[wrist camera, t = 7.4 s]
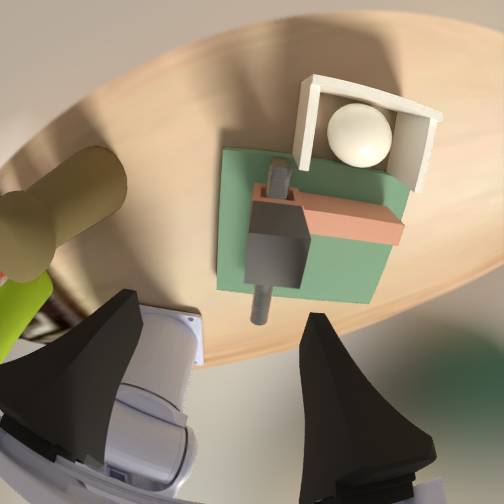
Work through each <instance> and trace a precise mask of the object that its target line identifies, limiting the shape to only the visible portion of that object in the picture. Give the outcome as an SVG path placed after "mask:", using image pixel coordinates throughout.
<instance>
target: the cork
mask: <svg viewBox="0 0 504 504" xmlns="http://www.w3.org/2000/svg"><path fill="white" fill-rule="evenodd" d="M126 192H127V178H126V174H125V171H124V168H123V166H122V164H121V163H120V161H119V160H118V158H117V157H116V156H115V155H114V154H113V153H112V152H110V151H109V150H108V149H105V148H102V147H99V146H92V147H87V148H85V149H83V150H81V151H80V152H78V153H77V154H75V155H74V156H72V157H71V158H69V159H68V160H66V161H65V162H63V163H62V164H61V165H59V166H58V167H56V168H55V169H54V170H52V171H51V172H50V173H48V174H47V175H46V176H44V177H43V178H42V179H40V180H39V181H38V182H36V183H35V184H34V185H33V186H31V187H30V188H29V189H28V190H27V191H12V192H8V193H6V194H4V195H3V196H1V197H0V271H1V272H2V273H3V274H4V275H6V276H7V277H9V278H10V279H11V280H13V281H16V282H19V283H22V282H29V281H33V280H35V279H36V278H38V277H39V276H40V275H41V274H42V273H43V272H44V271H45V270H46V269H47V268H48V266H49V265H50V263H51V261H52V259H53V257H54V253H55V250H56V248H58V247H59V246H61V245H62V244H64V243H65V242H67V241H68V240H70V239H72V238H73V237H75V236H76V235H78V234H80V233H81V232H83V231H84V230H86V229H88V228H89V227H91V226H93V225H94V224H96V223H98V222H99V221H101V220H103V219H105V218H106V217H108V216H110V215H112V214H113V213H114V212H116V211H117V210H118V209H119V208H120V207H121V205H122V204H123V202H124V200H125V197H126Z"/></svg>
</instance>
